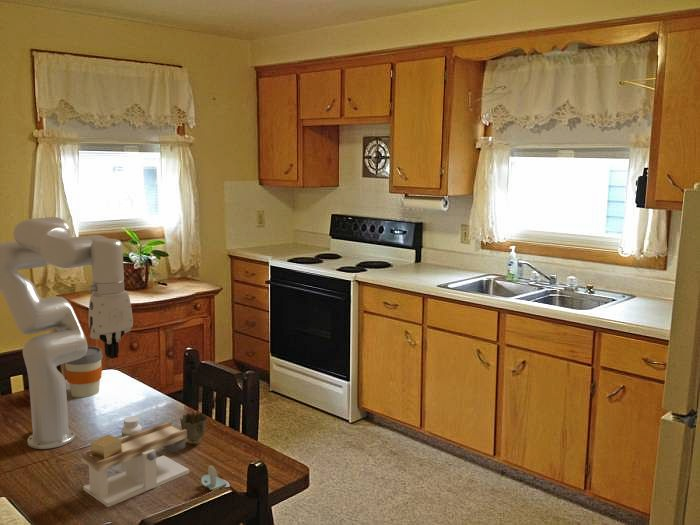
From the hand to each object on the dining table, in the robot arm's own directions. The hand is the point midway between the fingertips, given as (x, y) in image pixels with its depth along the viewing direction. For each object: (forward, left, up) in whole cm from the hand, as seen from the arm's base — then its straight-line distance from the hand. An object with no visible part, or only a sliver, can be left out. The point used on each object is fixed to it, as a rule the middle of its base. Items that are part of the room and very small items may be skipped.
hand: (112, 356), depth 170 cm
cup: (+2, +23, -31) cm, 39 cm away
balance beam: (+10, 0, -25) cm, 27 cm away
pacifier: (+27, +12, -31) cm, 43 cm away
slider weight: (+10, -8, -21) cm, 25 cm away
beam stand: (+10, 0, -31) cm, 33 cm away
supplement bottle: (-6, +8, -31) cm, 33 cm away
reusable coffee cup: (-59, +21, -31) cm, 70 cm away
